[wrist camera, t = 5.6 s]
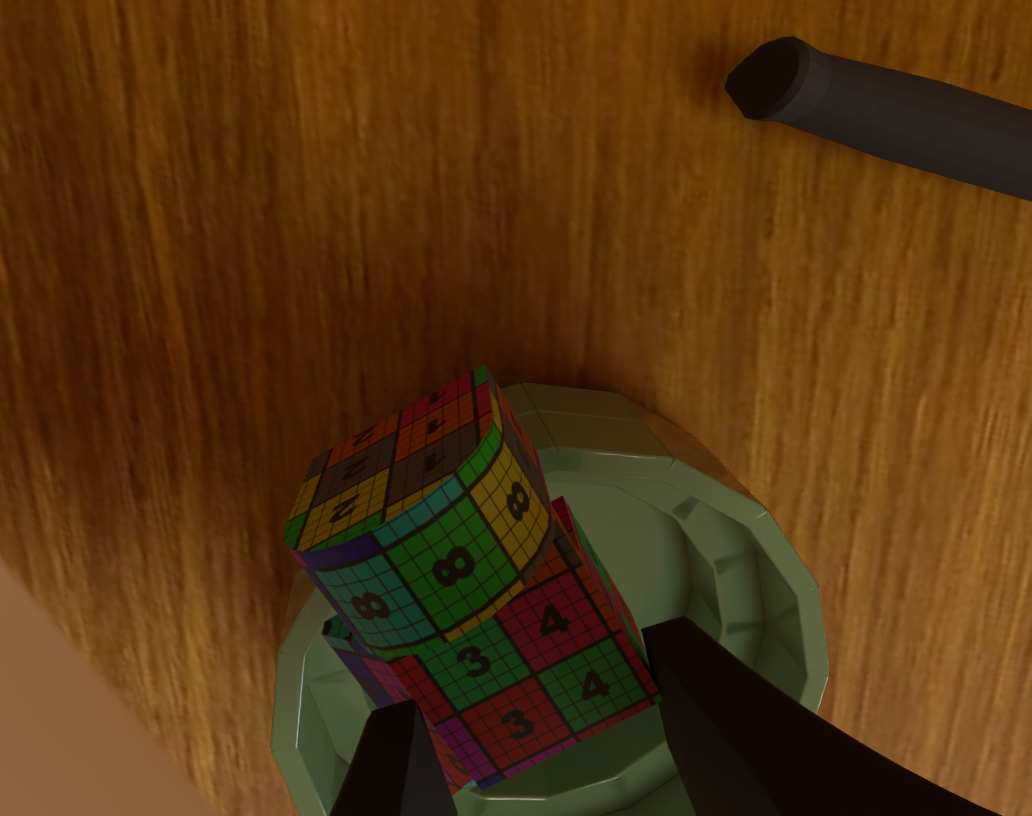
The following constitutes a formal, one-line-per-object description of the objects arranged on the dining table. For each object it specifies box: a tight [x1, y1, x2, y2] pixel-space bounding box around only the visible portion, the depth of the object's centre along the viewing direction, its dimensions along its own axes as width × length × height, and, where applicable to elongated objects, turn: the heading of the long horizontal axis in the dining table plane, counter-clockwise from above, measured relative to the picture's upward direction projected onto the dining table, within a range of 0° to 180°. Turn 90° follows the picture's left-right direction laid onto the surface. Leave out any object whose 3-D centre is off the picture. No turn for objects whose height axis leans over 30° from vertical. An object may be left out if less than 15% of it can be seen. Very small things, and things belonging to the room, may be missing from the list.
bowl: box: [270, 383, 830, 816], centre depth 18 cm, size 11×11×4 cm
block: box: [283, 364, 662, 798], centre depth 11 cm, size 6×4×3 cm
